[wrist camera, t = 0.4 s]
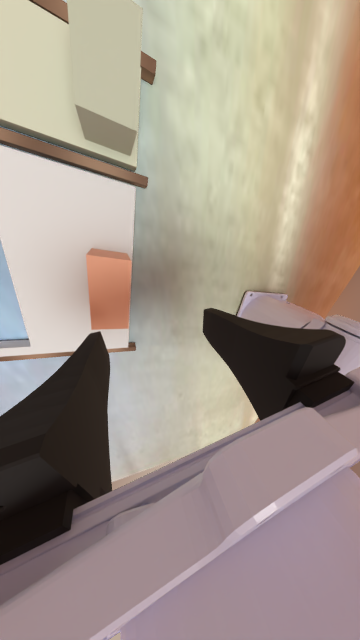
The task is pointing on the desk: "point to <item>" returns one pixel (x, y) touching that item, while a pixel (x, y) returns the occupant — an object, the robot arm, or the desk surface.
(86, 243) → the cube strip
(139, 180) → the lane rails
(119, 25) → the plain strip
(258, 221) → the desk surface
